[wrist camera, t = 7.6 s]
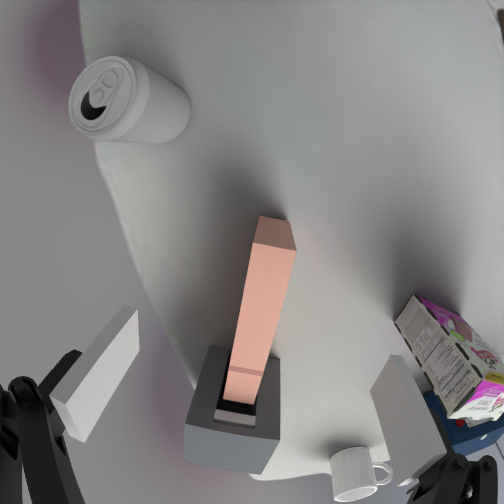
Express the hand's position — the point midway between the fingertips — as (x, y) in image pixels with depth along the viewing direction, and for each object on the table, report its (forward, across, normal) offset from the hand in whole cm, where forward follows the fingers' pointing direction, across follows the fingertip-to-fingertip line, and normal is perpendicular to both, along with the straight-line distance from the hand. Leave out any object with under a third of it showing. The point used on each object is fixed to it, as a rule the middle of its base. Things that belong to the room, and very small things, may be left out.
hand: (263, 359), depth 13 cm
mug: (+17, +27, -38) cm, 50 cm away
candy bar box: (+17, +23, -5) cm, 29 cm away
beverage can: (+17, -13, +12) cm, 25 cm away
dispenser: (+17, 0, -18) cm, 25 cm away
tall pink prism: (+17, 0, -5) cm, 17 cm away
